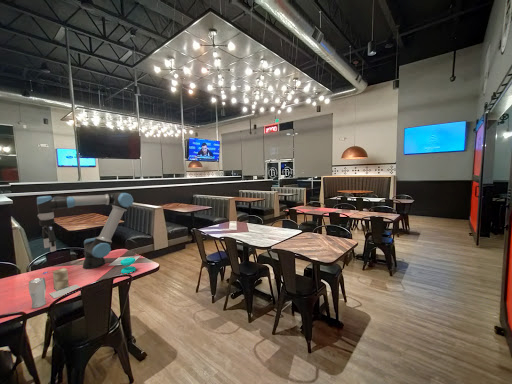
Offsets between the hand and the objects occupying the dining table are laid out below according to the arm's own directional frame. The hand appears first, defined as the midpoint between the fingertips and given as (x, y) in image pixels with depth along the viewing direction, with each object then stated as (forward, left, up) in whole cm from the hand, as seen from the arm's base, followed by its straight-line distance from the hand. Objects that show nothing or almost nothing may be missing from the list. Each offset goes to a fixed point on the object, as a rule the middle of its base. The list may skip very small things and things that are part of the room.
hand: (50, 249), depth 152 cm
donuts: (-38, +26, -25) cm, 52 cm away
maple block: (-1, +13, -24) cm, 28 cm away
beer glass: (+13, +28, -25) cm, 39 cm away
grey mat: (-1, +21, -24) cm, 32 cm away
